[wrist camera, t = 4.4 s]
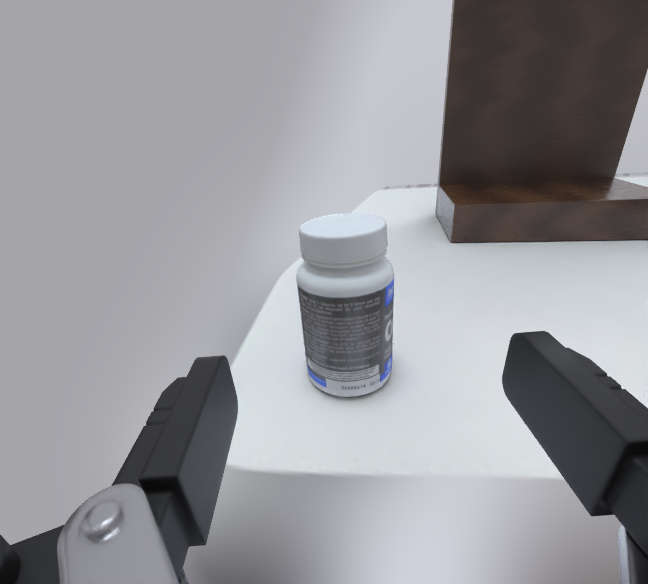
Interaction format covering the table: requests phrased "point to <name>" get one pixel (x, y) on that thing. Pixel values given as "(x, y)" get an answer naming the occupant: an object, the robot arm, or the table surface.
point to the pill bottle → (346, 302)
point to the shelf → (541, 120)
